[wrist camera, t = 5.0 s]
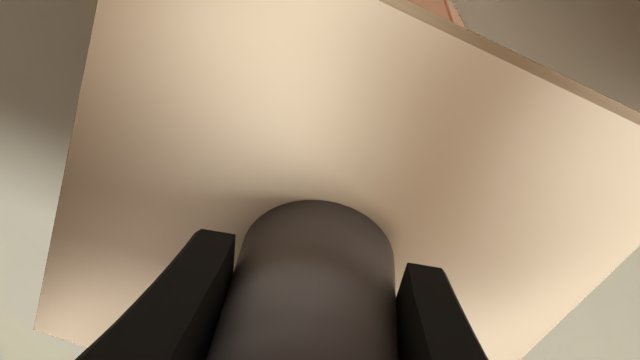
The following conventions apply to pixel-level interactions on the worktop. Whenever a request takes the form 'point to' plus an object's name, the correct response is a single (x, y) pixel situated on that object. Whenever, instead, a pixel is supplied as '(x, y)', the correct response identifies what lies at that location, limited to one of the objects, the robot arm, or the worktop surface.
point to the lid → (334, 175)
